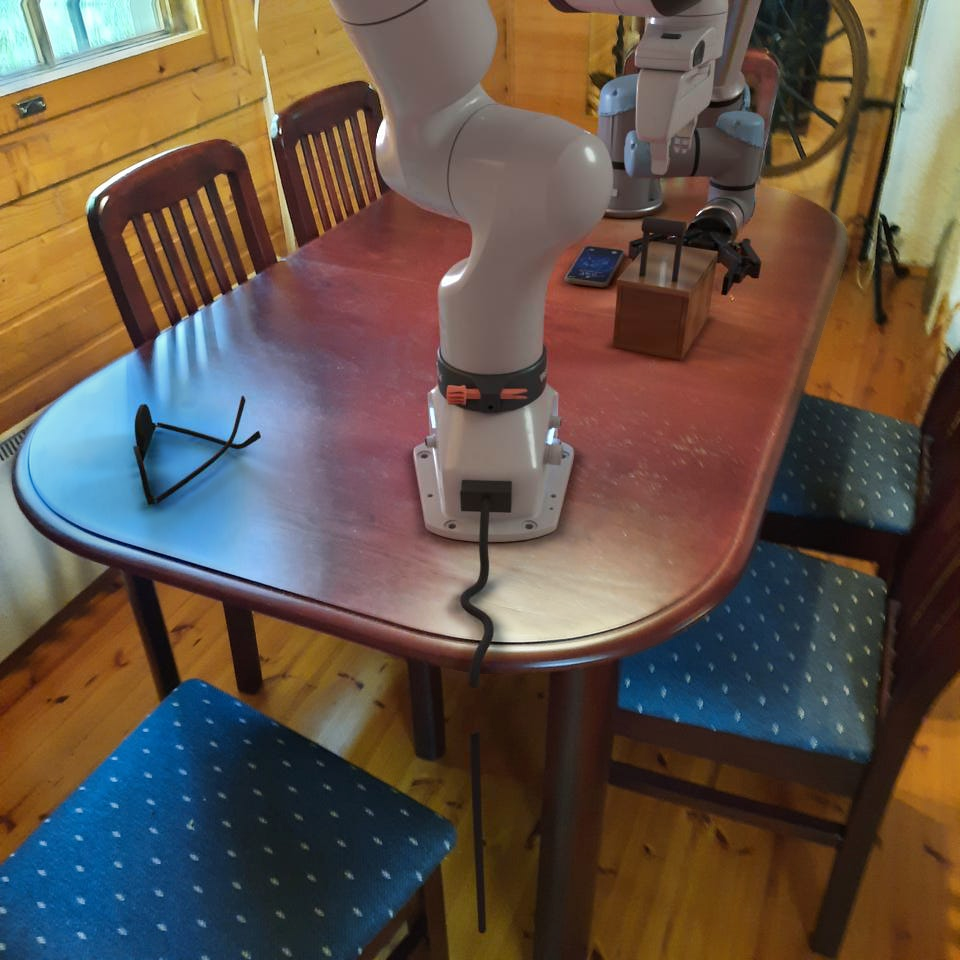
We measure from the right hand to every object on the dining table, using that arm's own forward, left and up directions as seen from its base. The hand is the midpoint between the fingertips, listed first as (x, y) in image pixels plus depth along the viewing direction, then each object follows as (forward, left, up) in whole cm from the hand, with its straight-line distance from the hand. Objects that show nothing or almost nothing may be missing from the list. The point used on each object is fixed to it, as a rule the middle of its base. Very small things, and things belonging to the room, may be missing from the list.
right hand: (678, 278), depth 125 cm
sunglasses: (+36, -61, -6) cm, 71 cm away
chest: (+4, -2, -6) cm, 8 cm away
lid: (+4, -2, +3) cm, 6 cm away
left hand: (+9, -4, +19) cm, 22 cm away
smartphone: (-19, -10, -6) cm, 22 cm away
